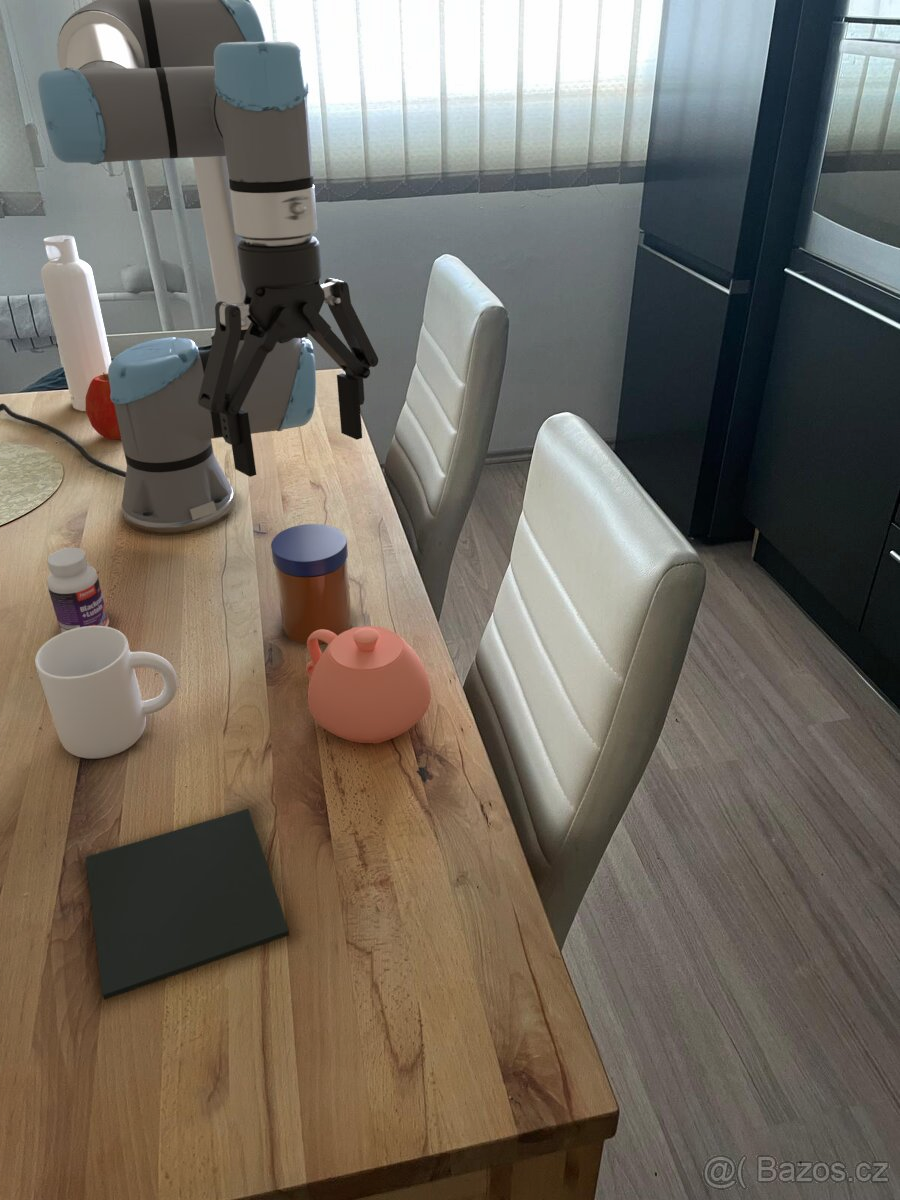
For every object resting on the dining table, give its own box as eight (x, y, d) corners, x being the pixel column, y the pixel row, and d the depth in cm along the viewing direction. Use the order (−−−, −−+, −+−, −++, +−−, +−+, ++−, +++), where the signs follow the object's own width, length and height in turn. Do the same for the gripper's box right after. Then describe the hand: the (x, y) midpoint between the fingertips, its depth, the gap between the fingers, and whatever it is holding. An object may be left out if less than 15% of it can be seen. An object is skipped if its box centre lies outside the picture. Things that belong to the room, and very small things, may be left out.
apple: (123, 420, 158) (109, 359, 152) (154, 431, 154) (142, 369, 148) (82, 436, 152) (66, 374, 146) (113, 448, 148) (99, 384, 142)
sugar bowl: (385, 773, 87) (380, 690, 81) (272, 721, 93) (260, 640, 87) (453, 702, 95) (453, 621, 90) (346, 659, 102) (339, 581, 96)
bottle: (129, 398, 166) (95, 235, 150) (98, 414, 160) (59, 246, 144) (94, 391, 169) (58, 231, 153) (62, 407, 163) (21, 241, 147)
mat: (86, 861, 78) (85, 856, 78) (249, 812, 83) (248, 808, 82) (104, 1000, 68) (102, 995, 67) (289, 935, 72) (288, 930, 72)
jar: (275, 613, 109) (265, 537, 103) (339, 599, 112) (333, 523, 106) (293, 651, 103) (283, 572, 97) (360, 634, 105) (355, 556, 100)
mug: (184, 693, 97) (167, 613, 91) (187, 745, 90) (169, 662, 84) (63, 714, 94) (38, 633, 88) (58, 769, 87) (30, 685, 82)
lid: (264, 546, 104) (262, 532, 103) (335, 532, 107) (333, 517, 106) (283, 583, 98) (281, 568, 97) (357, 566, 100) (356, 552, 99)
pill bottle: (95, 644, 104) (75, 571, 99) (51, 638, 105) (29, 566, 100) (118, 617, 108) (100, 546, 103) (77, 612, 109) (57, 541, 104)
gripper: (177, 265, 75) (215, 501, 86) (406, 223, 89) (413, 430, 100) (133, 252, 80) (175, 477, 91) (358, 214, 94) (370, 413, 105)
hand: (300, 453), depth 96 cm, fingers open, 13 cm apart
